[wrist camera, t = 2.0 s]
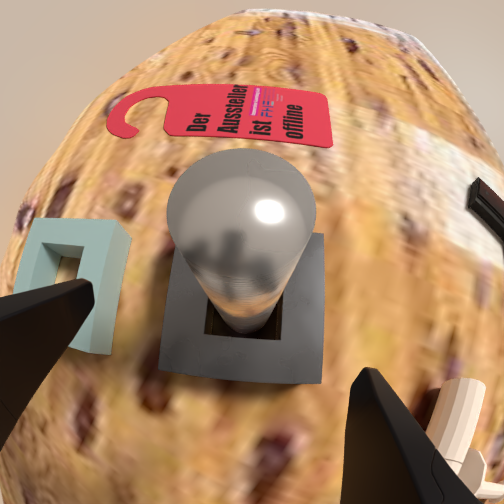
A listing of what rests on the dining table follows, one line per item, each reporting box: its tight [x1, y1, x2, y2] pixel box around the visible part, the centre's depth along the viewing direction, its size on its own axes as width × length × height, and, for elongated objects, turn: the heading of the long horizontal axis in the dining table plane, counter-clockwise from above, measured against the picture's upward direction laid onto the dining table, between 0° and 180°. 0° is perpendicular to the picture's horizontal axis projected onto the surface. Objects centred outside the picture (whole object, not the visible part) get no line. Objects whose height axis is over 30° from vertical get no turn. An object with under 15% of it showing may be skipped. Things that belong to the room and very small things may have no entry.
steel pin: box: [167, 148, 316, 333], centre depth 12 cm, size 3×3×13 cm
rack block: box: [13, 218, 132, 355], centre depth 17 cm, size 9×9×3 cm
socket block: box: [158, 233, 325, 384], centre depth 16 cm, size 9×9×3 cm
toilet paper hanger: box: [425, 378, 504, 503], centre depth 10 cm, size 21×11×7 cm, turn 55°
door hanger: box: [107, 84, 333, 148], centre depth 25 cm, size 9×1×25 cm
